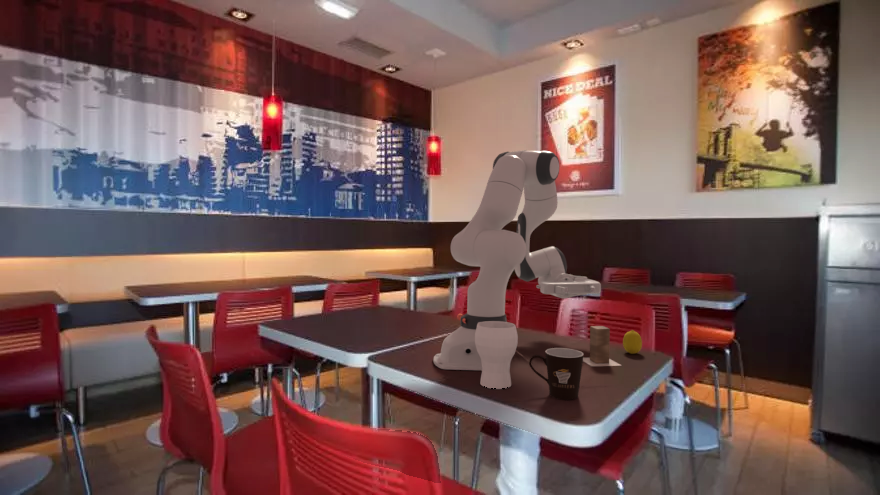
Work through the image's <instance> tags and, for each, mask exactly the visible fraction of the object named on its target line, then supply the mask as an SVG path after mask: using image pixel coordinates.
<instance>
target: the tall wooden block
mask: <svg viewBox="0 0 880 495" xmlns="http://www.w3.org/2000/svg"><path fill="white" fill-rule="evenodd" d="M610 330H611V329H610V328H608V327H606V326H604V325H595V326H593V325H590V326H589V358H590V360H591V361H593V362H594V363H609V359H610V344H611V343H610V339H611V338H610V337H611V336H610V334H611V332H610Z"/></svg>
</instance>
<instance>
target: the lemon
mask: <svg viewBox="0 0 880 495" xmlns="http://www.w3.org/2000/svg"><path fill="white" fill-rule="evenodd" d="M622 346H623V348H624V350H625V352H627V353H629V354H631V355H635V354H638V353H639V352H640V351H641V350H642V346H643V340H642V337H641V335H640V334H639V333H638V332H637V331H635V330H633V329H631V330H630V331H627V332H626V333H625V334H624V336H623V339H622Z"/></svg>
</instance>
